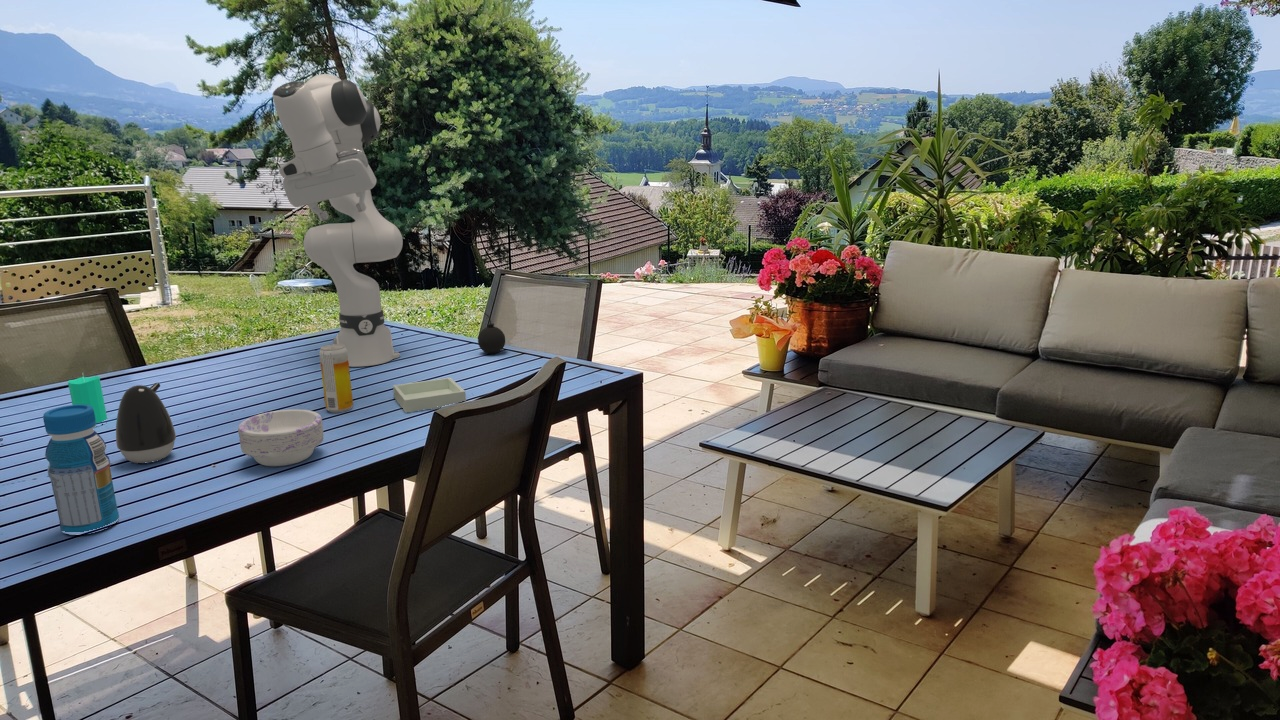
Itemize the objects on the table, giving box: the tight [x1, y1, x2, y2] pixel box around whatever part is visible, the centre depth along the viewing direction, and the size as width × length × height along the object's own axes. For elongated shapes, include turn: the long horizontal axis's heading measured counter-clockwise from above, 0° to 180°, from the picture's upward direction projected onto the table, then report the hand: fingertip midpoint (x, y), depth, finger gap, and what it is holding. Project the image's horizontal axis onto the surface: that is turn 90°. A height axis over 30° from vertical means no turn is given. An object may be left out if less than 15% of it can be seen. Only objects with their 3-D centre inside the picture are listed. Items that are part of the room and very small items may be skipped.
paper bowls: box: [237, 409, 324, 467], centre depth 167 cm, size 15×15×8 cm
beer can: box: [318, 343, 354, 414], centre depth 197 cm, size 6×6×15 cm
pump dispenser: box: [115, 382, 177, 464], centre depth 168 cm, size 10×10×15 cm
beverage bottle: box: [42, 404, 120, 532], centre depth 137 cm, size 8×8×20 cm
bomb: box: [477, 312, 506, 355], centre depth 247 cm, size 8×8×12 cm
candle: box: [67, 372, 108, 423], centre depth 190 cm, size 6×6×12 cm
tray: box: [392, 377, 467, 414], centre depth 203 cm, size 14×14×3 cm
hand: (343, 215), depth 196 cm, fingers open, 8 cm apart
